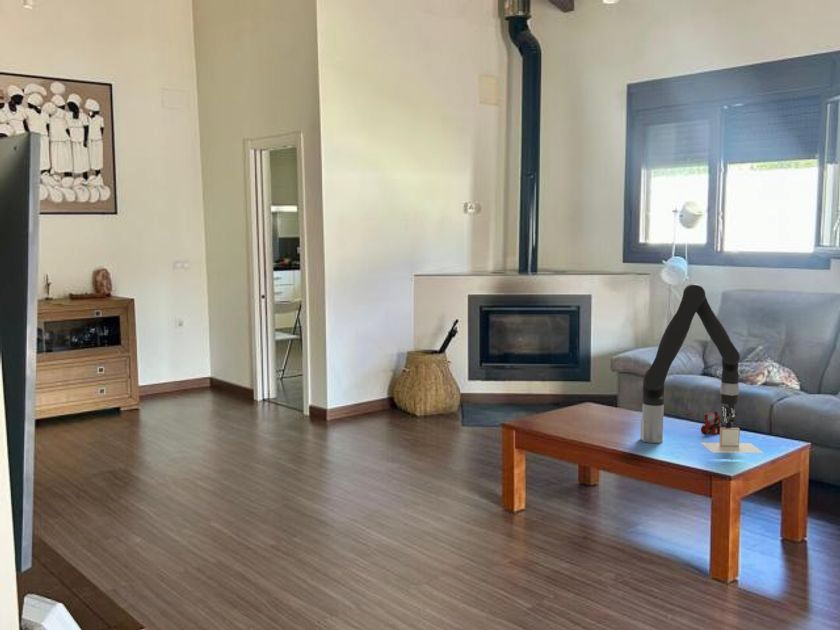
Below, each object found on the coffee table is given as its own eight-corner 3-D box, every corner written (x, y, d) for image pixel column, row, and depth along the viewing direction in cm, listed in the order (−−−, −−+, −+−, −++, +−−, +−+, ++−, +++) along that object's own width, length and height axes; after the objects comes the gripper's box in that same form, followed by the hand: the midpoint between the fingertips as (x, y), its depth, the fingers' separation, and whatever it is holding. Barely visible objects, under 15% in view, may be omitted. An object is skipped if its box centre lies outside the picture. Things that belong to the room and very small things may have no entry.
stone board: (712, 454, 337) (712, 452, 337) (700, 444, 353) (700, 442, 353) (764, 455, 336) (764, 453, 336) (749, 445, 352) (750, 443, 352)
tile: (720, 446, 347) (721, 428, 346) (719, 445, 349) (720, 427, 348) (739, 446, 347) (739, 428, 346) (737, 445, 348) (738, 427, 348)
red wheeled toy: (726, 433, 374) (727, 411, 373) (711, 437, 366) (712, 415, 365) (712, 430, 379) (713, 409, 378) (698, 434, 371) (699, 412, 370)
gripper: (715, 389, 355) (714, 427, 356) (726, 395, 342) (724, 434, 343) (732, 389, 354) (730, 427, 356) (743, 395, 341) (742, 434, 343)
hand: (727, 430), depth 350 cm, fingers closed
